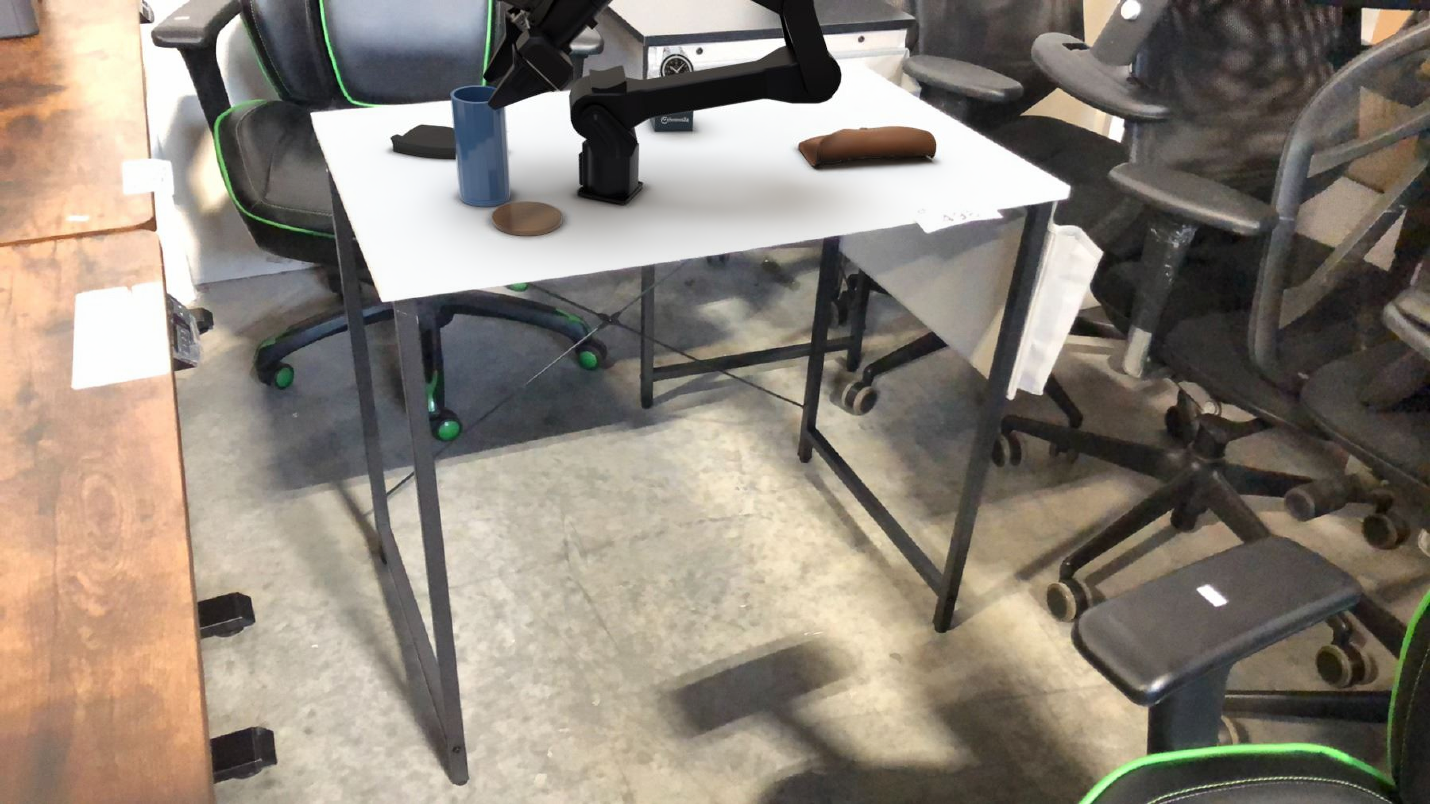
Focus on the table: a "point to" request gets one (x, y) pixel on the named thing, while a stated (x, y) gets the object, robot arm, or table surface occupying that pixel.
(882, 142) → the sunglasses case
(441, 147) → the dark sector wedge
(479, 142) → the pen cup
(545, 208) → the coaster
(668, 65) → the watch
